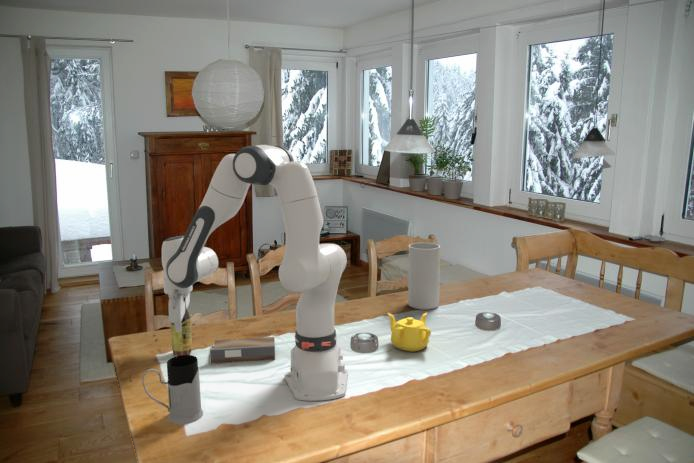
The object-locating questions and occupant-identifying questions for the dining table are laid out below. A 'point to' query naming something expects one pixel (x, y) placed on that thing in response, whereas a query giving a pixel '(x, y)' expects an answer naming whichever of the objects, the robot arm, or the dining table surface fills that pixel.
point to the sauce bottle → (182, 336)
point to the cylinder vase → (423, 275)
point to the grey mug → (182, 389)
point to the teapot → (409, 333)
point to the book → (243, 343)
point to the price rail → (242, 352)
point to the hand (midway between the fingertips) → (180, 326)
